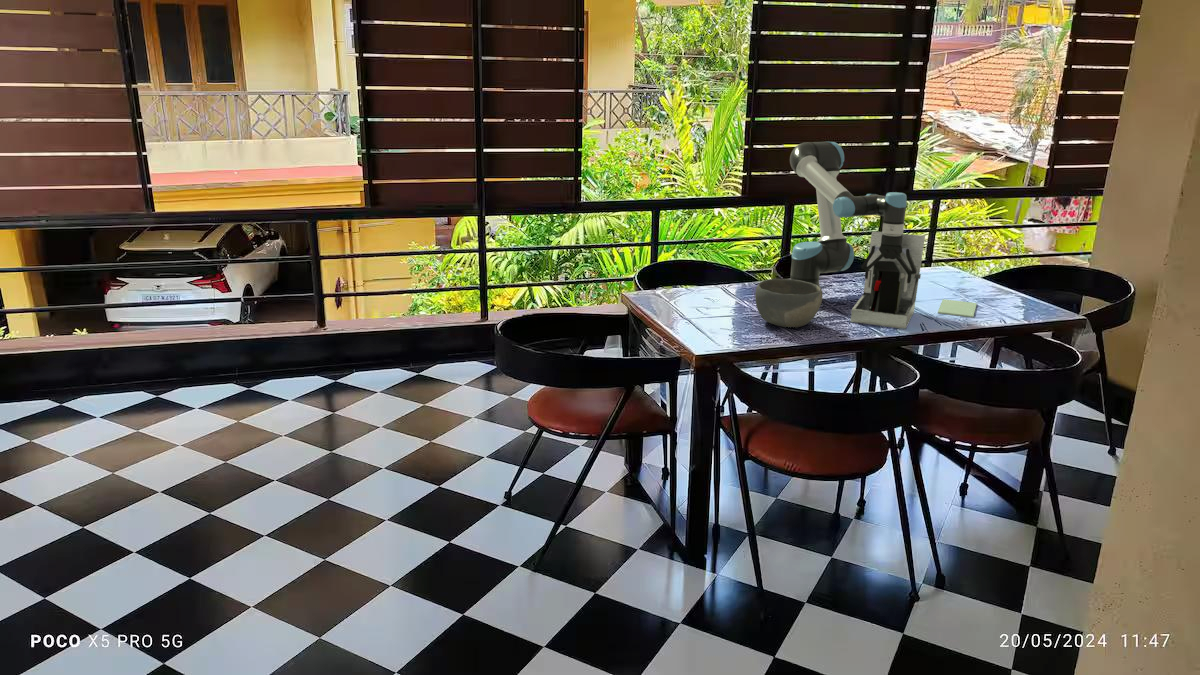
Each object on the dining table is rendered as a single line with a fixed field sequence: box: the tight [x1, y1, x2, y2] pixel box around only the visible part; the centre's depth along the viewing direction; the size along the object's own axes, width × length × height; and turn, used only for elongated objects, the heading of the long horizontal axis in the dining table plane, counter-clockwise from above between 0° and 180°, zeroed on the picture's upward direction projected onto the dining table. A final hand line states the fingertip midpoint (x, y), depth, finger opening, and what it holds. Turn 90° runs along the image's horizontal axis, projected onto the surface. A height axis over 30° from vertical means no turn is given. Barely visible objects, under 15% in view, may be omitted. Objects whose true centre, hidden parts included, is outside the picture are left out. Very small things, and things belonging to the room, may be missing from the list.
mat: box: [937, 298, 978, 318], centre depth 339 cm, size 13×21×1 cm, turn 154°
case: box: [850, 230, 926, 330], centre depth 325 cm, size 20×31×30 cm, turn 154°
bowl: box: [754, 278, 823, 329], centre depth 315 cm, size 24×24×15 cm
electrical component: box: [869, 261, 905, 314], centre depth 324 cm, size 18×10×20 cm, turn 168°
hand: (886, 289), depth 323 cm, fingers open, 13 cm apart
